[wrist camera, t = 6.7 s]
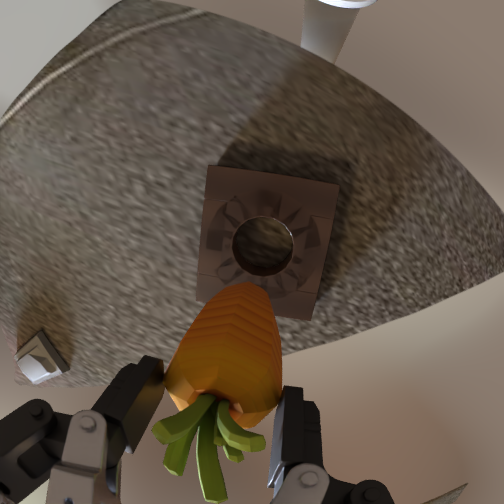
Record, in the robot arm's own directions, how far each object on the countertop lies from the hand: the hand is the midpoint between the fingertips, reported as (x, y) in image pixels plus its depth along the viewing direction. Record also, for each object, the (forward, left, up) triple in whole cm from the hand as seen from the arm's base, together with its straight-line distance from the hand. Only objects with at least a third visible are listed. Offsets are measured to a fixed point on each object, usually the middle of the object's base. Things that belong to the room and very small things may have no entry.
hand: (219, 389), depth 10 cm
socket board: (0, 0, -24) cm, 24 cm away
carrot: (0, 0, -11) cm, 11 cm away
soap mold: (+36, -47, -25) cm, 64 cm away
